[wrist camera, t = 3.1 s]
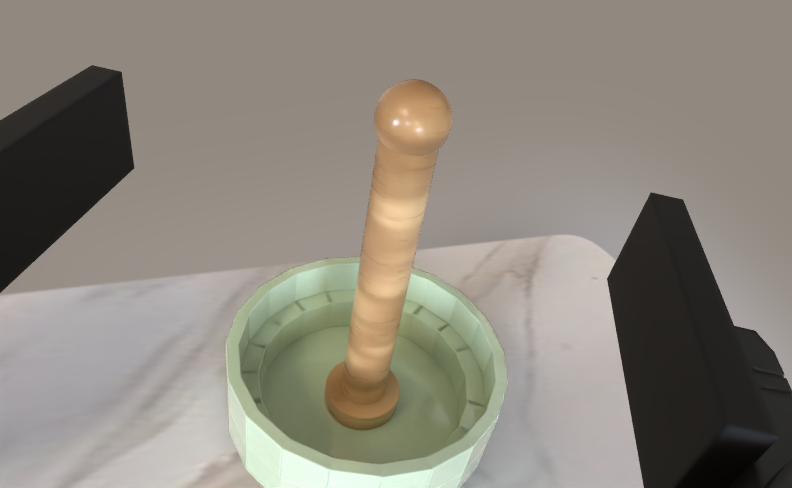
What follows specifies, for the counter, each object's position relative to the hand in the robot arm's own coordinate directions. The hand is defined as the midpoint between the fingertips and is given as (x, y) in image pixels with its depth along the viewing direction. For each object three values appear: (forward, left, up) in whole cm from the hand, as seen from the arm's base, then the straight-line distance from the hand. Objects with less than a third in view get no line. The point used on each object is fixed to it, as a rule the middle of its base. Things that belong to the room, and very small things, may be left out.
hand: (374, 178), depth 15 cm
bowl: (+5, -9, -22) cm, 24 cm away
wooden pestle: (+5, -9, -21) cm, 24 cm away
